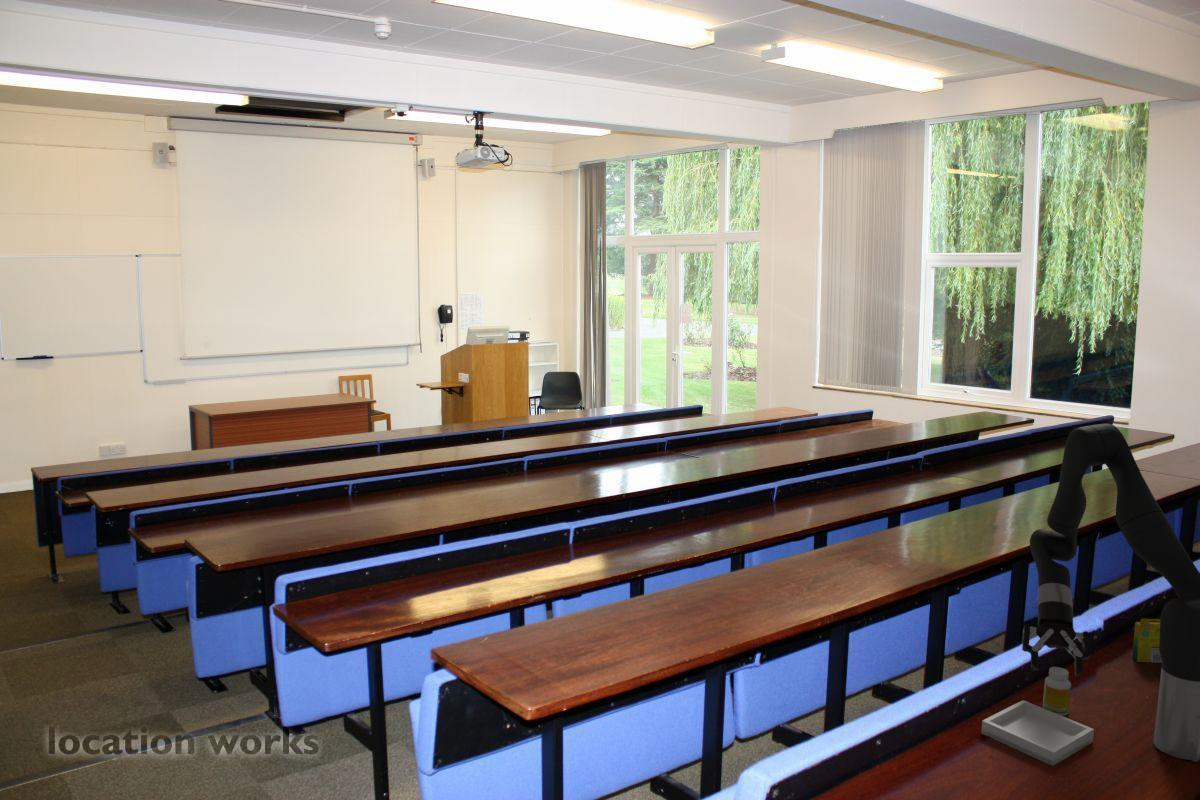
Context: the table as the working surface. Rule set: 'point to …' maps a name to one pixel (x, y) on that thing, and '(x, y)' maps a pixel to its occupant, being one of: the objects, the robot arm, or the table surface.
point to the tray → (1037, 732)
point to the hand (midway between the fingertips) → (1056, 672)
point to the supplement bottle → (1057, 691)
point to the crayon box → (1147, 641)
